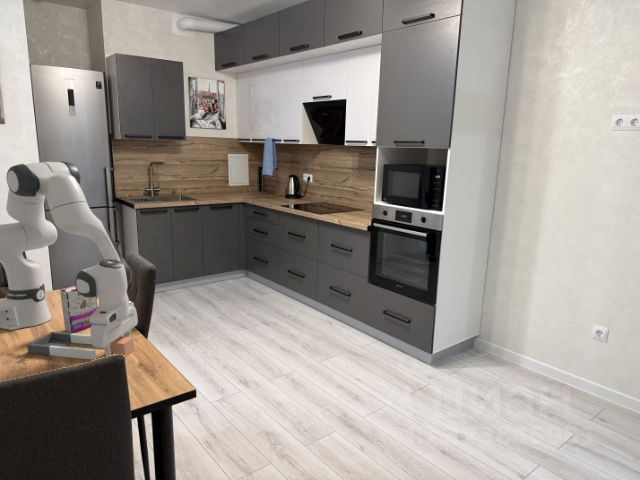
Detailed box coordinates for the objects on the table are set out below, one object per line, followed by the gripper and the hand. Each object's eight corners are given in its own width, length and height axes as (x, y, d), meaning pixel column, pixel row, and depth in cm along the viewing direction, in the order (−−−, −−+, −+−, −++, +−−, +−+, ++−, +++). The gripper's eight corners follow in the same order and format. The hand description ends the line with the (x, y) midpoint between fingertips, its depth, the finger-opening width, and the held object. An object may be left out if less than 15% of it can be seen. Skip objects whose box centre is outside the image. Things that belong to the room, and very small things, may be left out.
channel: (49, 355, 147) (48, 346, 146) (73, 341, 158) (72, 333, 157) (94, 359, 145) (93, 350, 144) (114, 345, 155) (114, 337, 155)
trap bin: (28, 353, 148) (27, 344, 148) (52, 339, 159) (52, 331, 158) (49, 355, 147) (48, 346, 146) (73, 341, 158) (72, 333, 157)
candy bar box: (92, 321, 176) (88, 281, 172) (100, 324, 173) (96, 283, 170) (63, 331, 166) (59, 288, 163) (71, 334, 164) (66, 291, 160)
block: (108, 356, 147) (107, 342, 146) (117, 349, 152) (116, 336, 151) (125, 358, 146) (124, 343, 145) (134, 351, 151) (133, 337, 150)
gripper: (124, 298, 156) (127, 335, 159) (85, 320, 137) (89, 361, 139) (141, 299, 155) (143, 336, 158) (104, 321, 136) (107, 363, 138)
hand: (118, 348), depth 149 cm, fingers open, 8 cm apart
